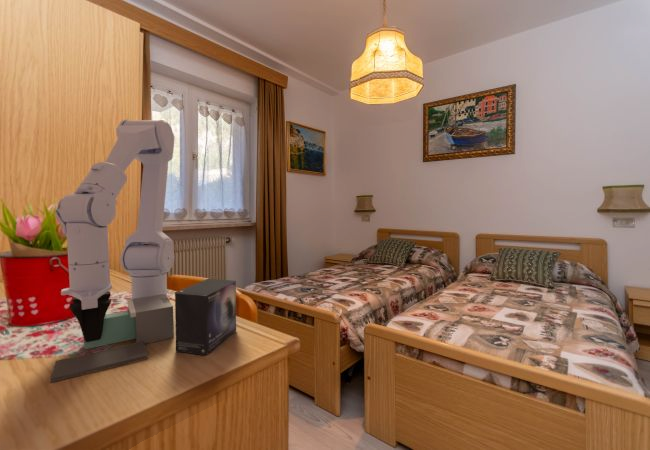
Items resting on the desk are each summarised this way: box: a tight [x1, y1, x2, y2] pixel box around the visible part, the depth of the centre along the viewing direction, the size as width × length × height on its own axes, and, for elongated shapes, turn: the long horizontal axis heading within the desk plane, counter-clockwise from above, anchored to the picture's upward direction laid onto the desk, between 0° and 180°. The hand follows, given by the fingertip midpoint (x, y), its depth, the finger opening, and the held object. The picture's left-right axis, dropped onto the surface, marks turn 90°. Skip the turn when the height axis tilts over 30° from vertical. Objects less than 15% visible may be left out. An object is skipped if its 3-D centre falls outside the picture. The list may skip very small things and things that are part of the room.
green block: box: [82, 310, 136, 350], centre depth 58 cm, size 2×10×5 cm, turn 125°
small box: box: [174, 277, 237, 356], centre depth 57 cm, size 11×6×10 cm, turn 168°
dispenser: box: [126, 294, 175, 345], centre depth 61 cm, size 10×7×6 cm
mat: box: [49, 341, 148, 383], centre depth 50 cm, size 6×12×1 cm, turn 125°
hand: (93, 337), depth 56 cm, fingers closed on green block, 2 cm apart
